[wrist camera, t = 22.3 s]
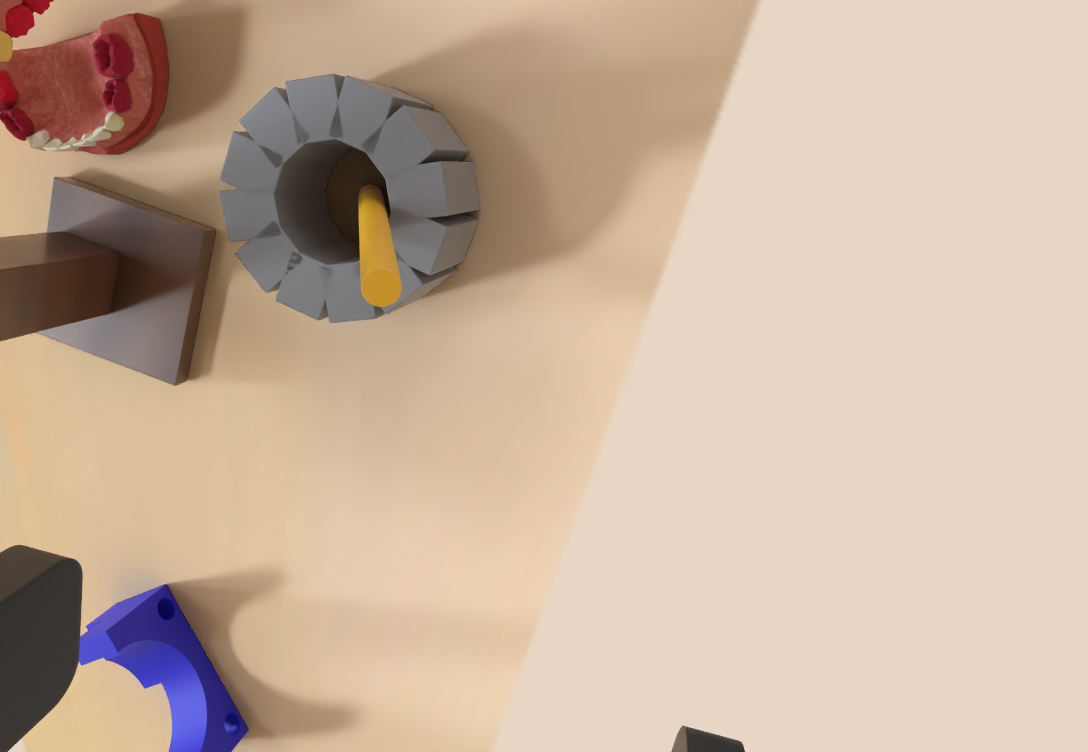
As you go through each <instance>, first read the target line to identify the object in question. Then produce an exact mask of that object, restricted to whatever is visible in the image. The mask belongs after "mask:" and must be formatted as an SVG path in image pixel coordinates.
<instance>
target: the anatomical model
mask: <svg viewBox="0 0 1088 752" xmlns="http://www.w3.org/2000/svg"><path fill="white" fill-rule="evenodd" d="M52 1H53V0H0V112H1V113H0V120H1V121H2V122H3V123H4V124H5V125H6V128H7V129H8V131H9V132H10V133H11V134H12V135H13V136H14V137H16V138H18V139H20V140H23V141H25V140H27V143H28V144H29V146H30V147H33V148H36V149H39V150H44V151H46V150H50V151H86V152H89V153H93V154H122V153H123V152H125V151H127V150H129V149H130V148H132V147H133V146H135V145H136V144H137V143H138V142H139V141H140V140H141V139H142V138H143V137H144V136H146V135H147V134H148V133H149V132H151V131H152V130H153V128H154V127H155V125H156V124H157V122H158V120H159V118H160V116H161V114H162V112H163V109H164V105H165V101H166V96H167V86H168V77H169V68H168V59H167V49H166V44H165V40H164V36H163V32H162V28H161V24H160V20H159V19H158V18H155V17H151V16H147V15H144V14H140V13H135V14H127V15H123V16H120V17H117V18H113V19H110V20H107V21H103V22H102V24H101V25H100V26H99V28H98V31H96V32H93V33H90V34H86V35H83V36H80V37H76V38H73V39H70V40H66V41H63V42H60V43H56V44H53V45H50V46H46V47H38V48H30V49H22V50H14V51H12V45H13V41H12V39H11V38H13V37H15V38H17V37H19V36H23V35H27V32H28V30H29V29H30V28H32V27H33V26H34V16H33V12H36V13H38V14H40V15H41V14H43V13H44V11H45V10H47V9H48V8H49V6H50V4H49V2H52Z"/></svg>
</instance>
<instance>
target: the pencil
mask: <svg viewBox="0 0 1088 752" xmlns="http://www.w3.org/2000/svg"><path fill="white" fill-rule="evenodd" d="M358 210H359V244H360V278H361V292H362V295H363V297H364V298H365V300H366V301H367V302H369V303H370V304H372V305H374V306H378V307H386V306H389V305H391V304H393V303H395V302H396V301H397V300H398V298H399V297H400V295H401V292H402V283H401V278H400V274H399V269H398V264H397V259H396V254H395V250H394V245H393V240H392V235H391V230H390V226H389V221H388V216H387V211H386V206H385V202H384V197H383V193H382V191H381V189H380V188H379V187H377V186H375V185H371V184H370V185H365V186H363V187H362V188H361V189H360V191H359V193H358Z"/></svg>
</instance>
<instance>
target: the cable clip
mask: <svg viewBox="0 0 1088 752" xmlns="http://www.w3.org/2000/svg"><path fill="white" fill-rule="evenodd" d="M86 628H87V629H88V631H87V632H86V633H85V634H84V635H82V636H81V637H80V649H79V662H80V664H81V665H84V664H87V663H90V662H92V661H95V660H98V659H100V658H103V657H104V658H105V660H108V661H111V662H115V663H117V664H119V665H121V666H123V667H125V668H126V669H128V670H129V671H130V672H131V673H132V674H134V675H135V676H136V678H137V679H138V680H139V681H140V682H141V684H142V685H143V687H144V688H148V687H151V686H153V685H156V684H159V683H162V685H163V687H164V689H165V691H166V694H167V696H168V699H169V703H170V707H171V713H172V738H171V744H170V749H169V752H231V751H232V750H233V749H234V748H235V746H236V745H237V744H238V743H239V741H240V740H241V739H242V738H243V736H244V735H245V734H246V733H247V731H248V728H247V726H246V724H245V723H244V721H243V719H242V717H241V715H240V714H239V712H238V710H237V708H236V707H235V705H234V703H233V701H232V700H231V698H230V696H229V694H228V692H227V691H226V689H225V687H224V685H223V684H222V682H221V680H220V678H219V677H218V675H217V673H216V671H215V670H214V668H213V666H212V664H211V662H210V661H209V659H208V657H207V655H206V654H205V652H204V650H203V648H202V647H201V645H200V643H199V641H198V639H197V638H196V636H195V634H194V632H193V631H192V629H191V627H190V625H189V624H188V622H187V620H186V618H185V616H184V615H183V613H182V611H181V609H180V608H179V606H178V604H177V602H176V601H175V599H174V597H173V595H172V593H171V592H170V590H169V588H168V586H167V585H166V584H165V585H162V586H159V587H157V588H154V589H152V590H149V591H147V592H144V593H142V594H139V595H137V596H134V597H132V598H129V599H126V600H124V601H121V602H119V603H116V604H115V605H114V606H112V607H111V608H110V609H108V610H107V611H106V612H104V613H103V614H102V615H100V616H99V617H98V618H96V619H95V620H94V621H92V622H91V623H90V624H88V625H87V626H86Z"/></svg>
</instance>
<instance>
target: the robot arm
mask: <svg viewBox="0 0 1088 752" xmlns="http://www.w3.org/2000/svg"><path fill="white" fill-rule="evenodd" d="M82 579H83V577H82V568H81V566H80V564H79V562H78V561H76V560H75V559H71V558H68V557H64V556H60V555H57V554H53V553H49V552H45V551H42V550H38V549H34V548H31V547H27V546H23V545H15V546H12V547H10V548H8V549H6V550H4V551H3V552H1V553H0V752H8V751H9V750H10V749H11V748H12V747H13V746H14V745H15V744H16V743H17V742H18V741H19V740H20V739H21V738H22V737H23V736H24V735H26V734H27V733H28V732H29V731H30V730H31V729H32V728H33V727H34V726H35V725H36V724H37V723H38V722H39V721H40V720H41V719H42V718H43V717H45V716H46V715H47V714H48V713H49V712H50V711H51V710H52V709H53V708H54V707H55V706H56V705H57V704H58V702H59V701H60V700H61V699H62V697H63V696H64V694H65V693H66V691H67V689H68V688H69V686H70V684H71V682H72V680H73V677H74V675H75V672H76V669H77V665H78V661H79V649H80V625H81V602H82ZM672 752H745V750H744V746H743V744H742V742H740V741H738V740H734V739H730V738H727V737H723V736H719V735H715V734H711V733H708V732H704V731H701V730H697V729H693V728H689V727H686V726H682V727H681V728H680V730H679V732H678V734H677V737H676V739H675V743H674V746H673V749H672Z"/></svg>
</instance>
